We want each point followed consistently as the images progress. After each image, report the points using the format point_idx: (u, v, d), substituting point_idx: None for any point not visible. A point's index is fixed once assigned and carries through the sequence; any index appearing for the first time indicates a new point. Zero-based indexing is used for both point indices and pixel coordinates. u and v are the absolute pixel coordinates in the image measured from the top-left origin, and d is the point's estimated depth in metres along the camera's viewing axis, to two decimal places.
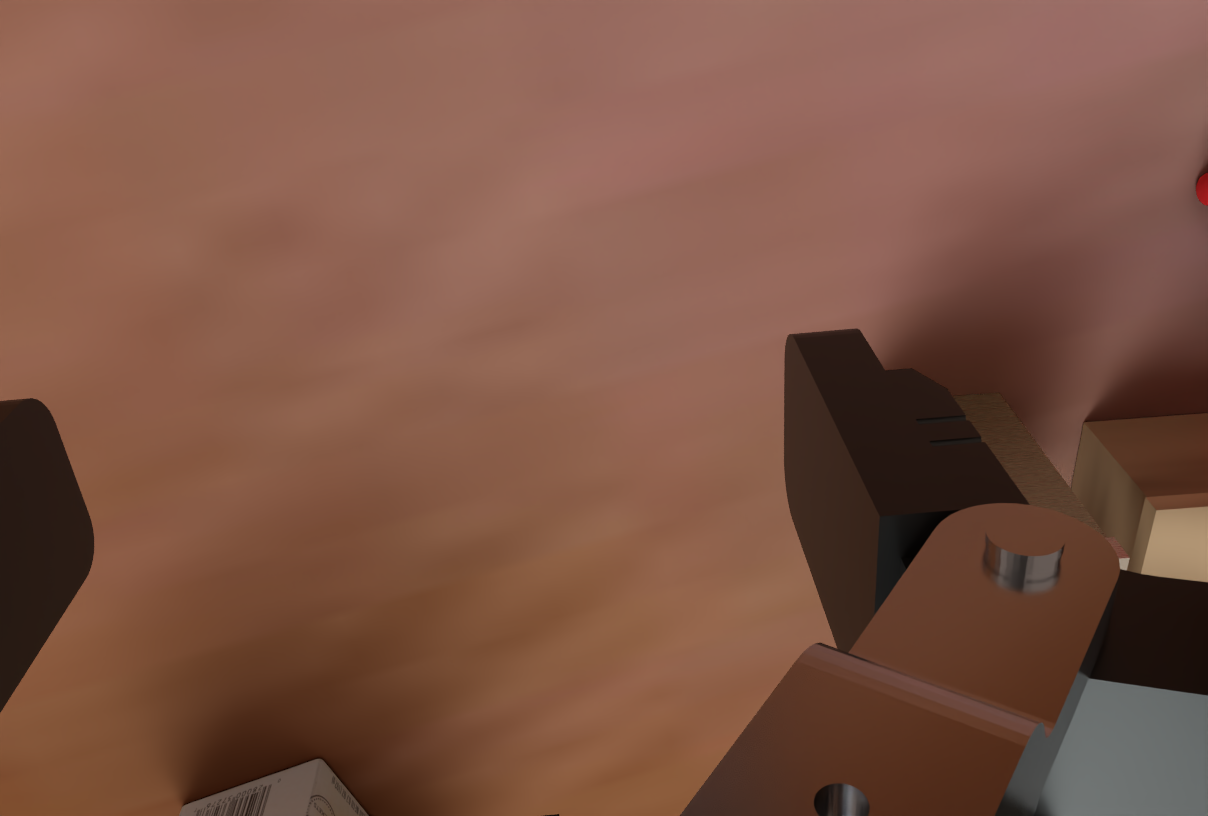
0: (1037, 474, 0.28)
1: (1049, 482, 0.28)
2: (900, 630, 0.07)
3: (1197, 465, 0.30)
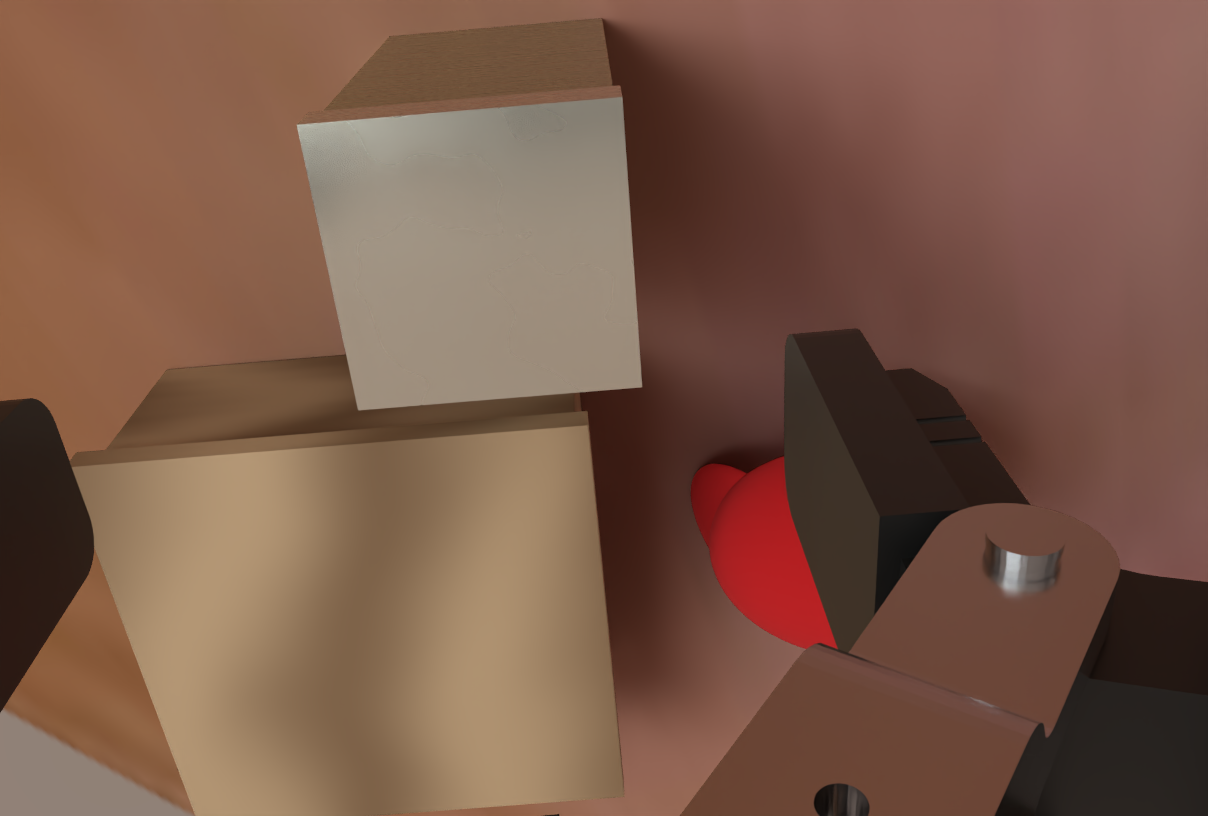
0: None
1: None
2: (901, 630, 0.07)
3: None
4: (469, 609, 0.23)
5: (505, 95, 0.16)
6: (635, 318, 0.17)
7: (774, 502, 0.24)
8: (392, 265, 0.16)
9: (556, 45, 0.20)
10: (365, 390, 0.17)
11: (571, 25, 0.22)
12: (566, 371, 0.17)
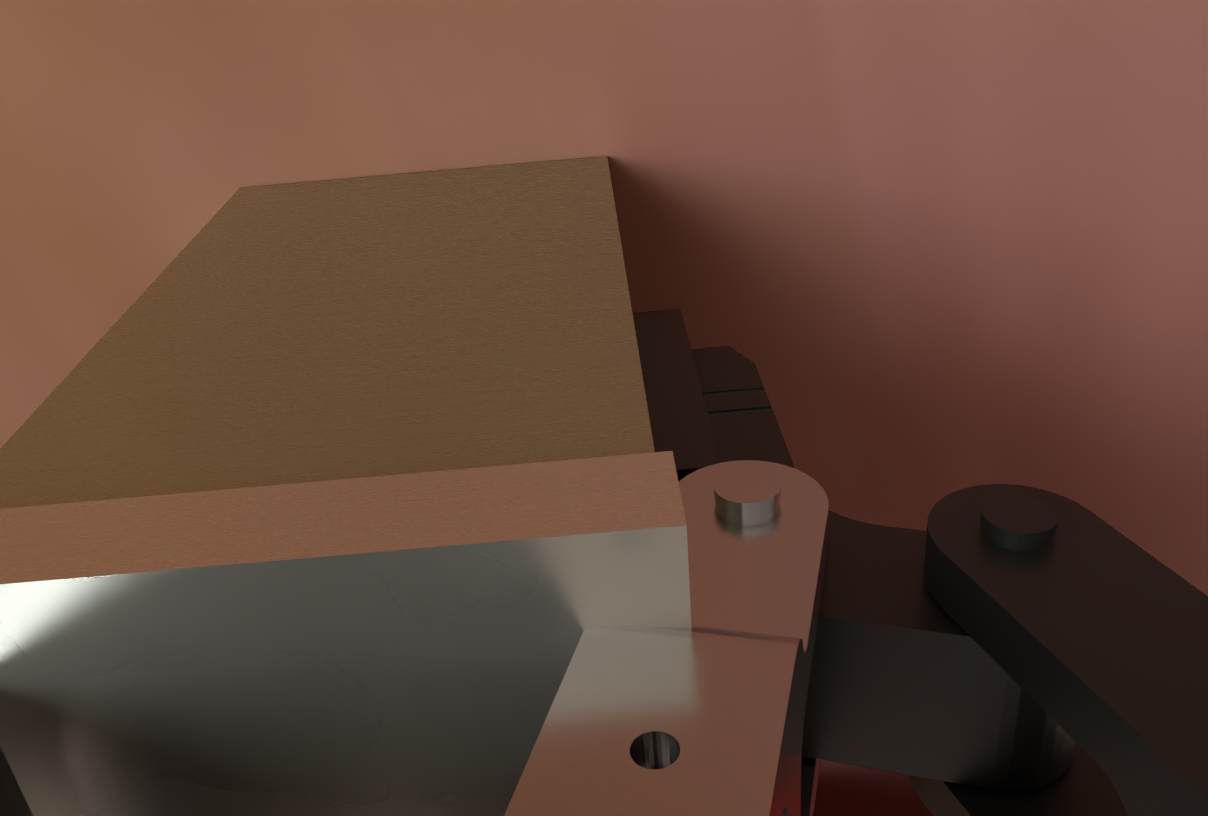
0: None
1: None
2: None
3: None
4: None
5: (389, 478, 0.06)
6: None
7: None
8: None
9: (525, 239, 0.10)
10: None
11: (554, 174, 0.12)
12: None
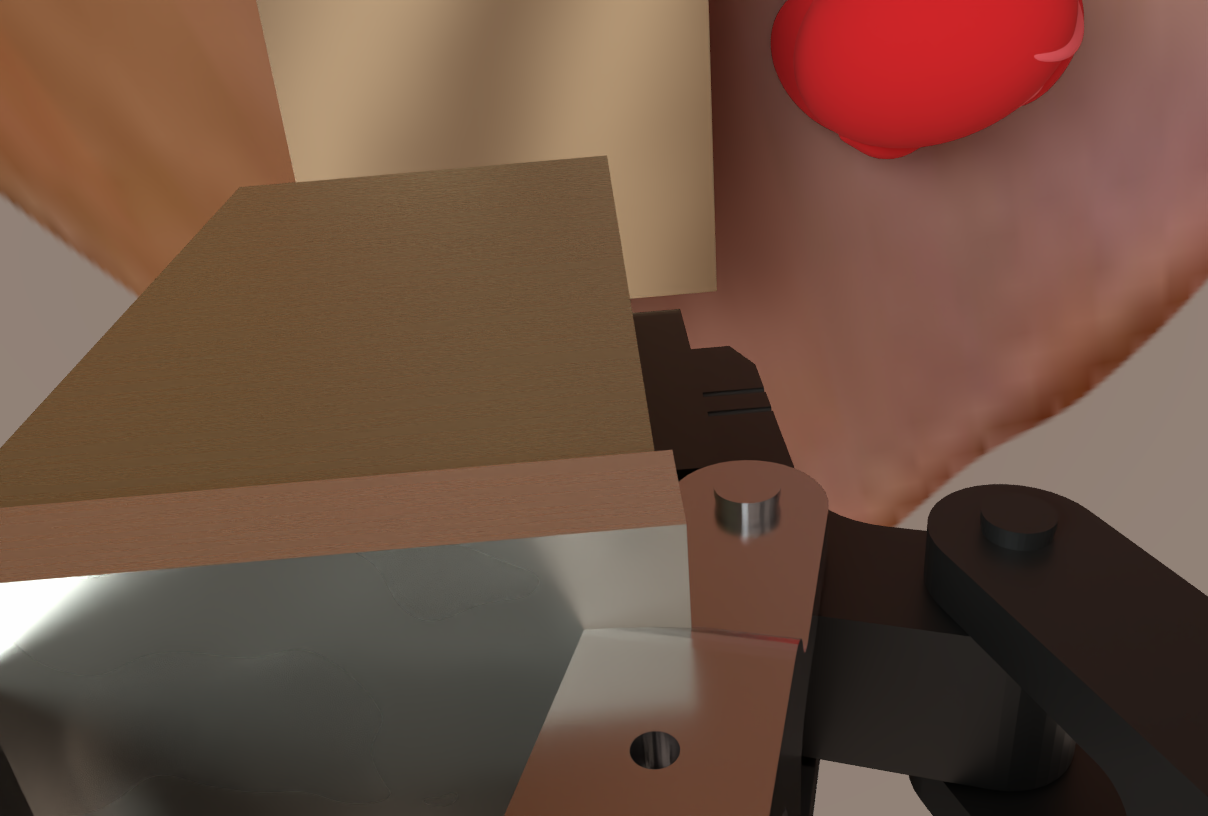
0: None
1: None
2: None
3: None
4: (587, 64, 0.26)
5: (389, 477, 0.06)
6: None
7: None
8: None
9: (525, 238, 0.10)
10: None
11: (554, 173, 0.12)
12: None
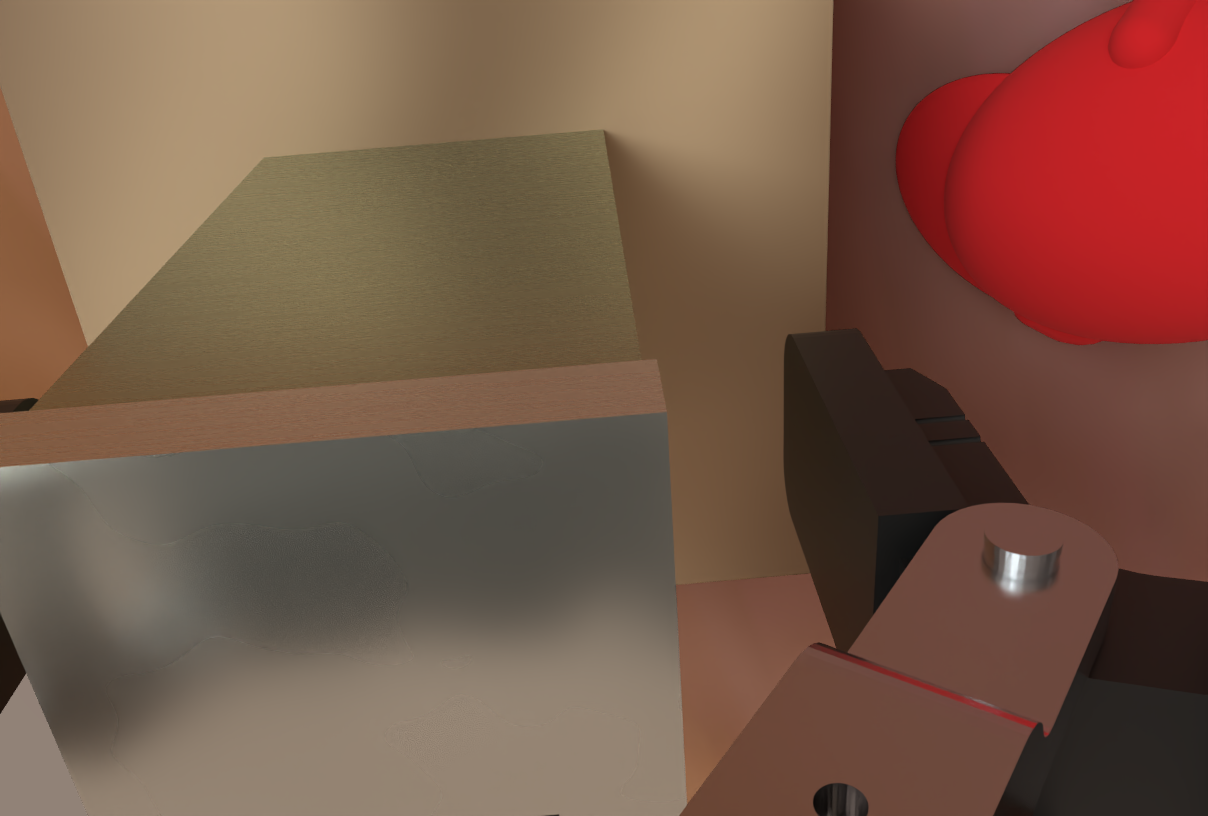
0: None
1: None
2: (900, 630, 0.07)
3: None
4: None
5: (414, 381, 0.07)
6: (682, 791, 0.09)
7: (1088, 71, 0.15)
8: (184, 718, 0.08)
9: (528, 198, 0.12)
10: None
11: (555, 144, 0.14)
12: None
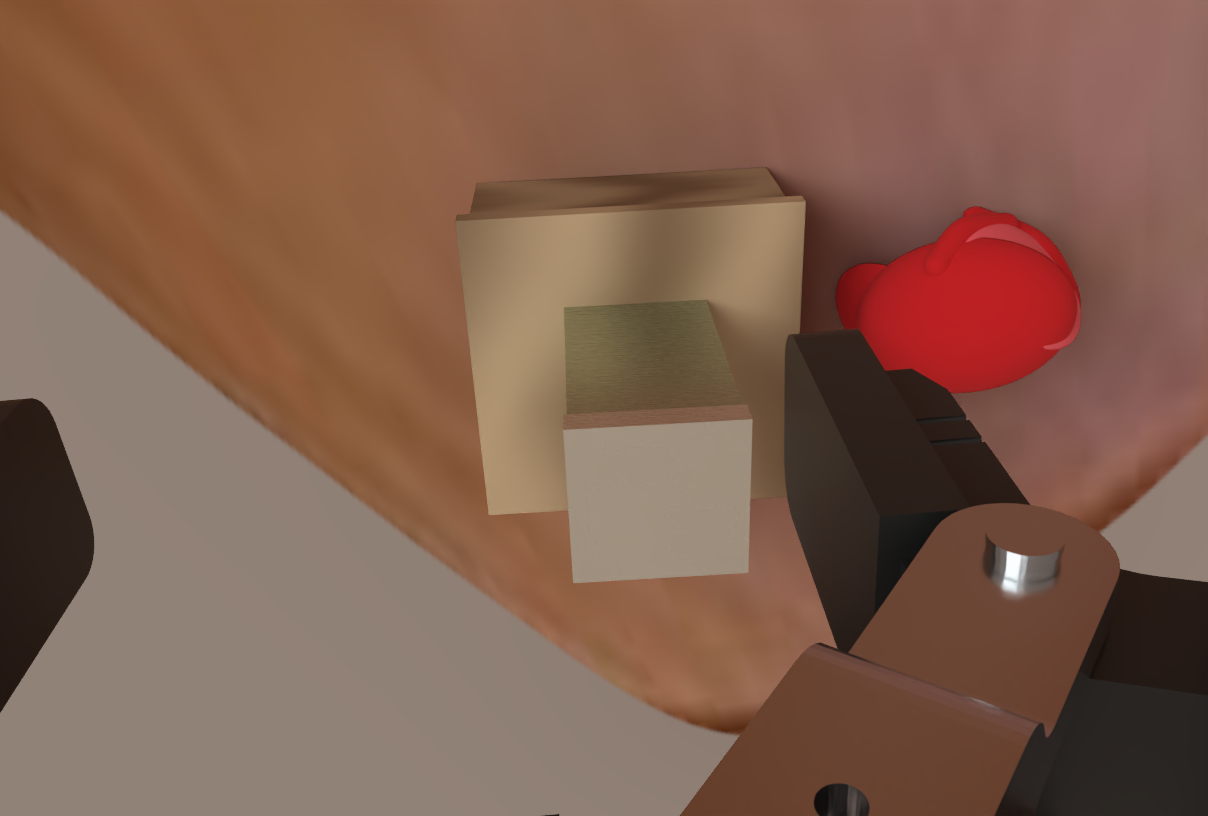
0: None
1: None
2: (901, 630, 0.07)
3: None
4: None
5: (680, 408, 0.27)
6: (747, 534, 0.28)
7: (914, 274, 0.35)
8: (606, 503, 0.27)
9: (687, 338, 0.31)
10: (579, 571, 0.28)
11: (688, 307, 0.33)
12: (702, 562, 0.28)
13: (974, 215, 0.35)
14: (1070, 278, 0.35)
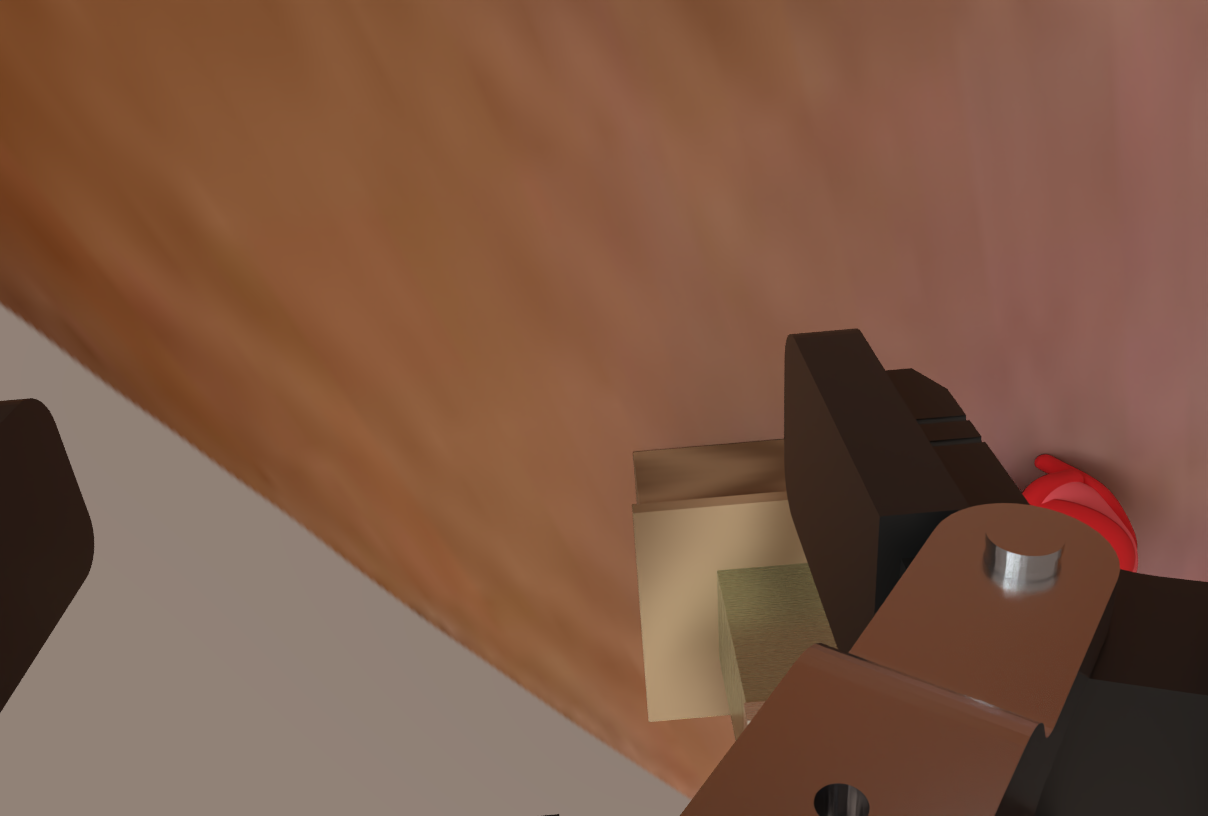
0: None
1: None
2: (901, 630, 0.07)
3: None
4: None
5: None
6: None
7: None
8: None
9: None
10: None
11: None
12: None
13: (1047, 478, 0.43)
14: (1128, 526, 0.43)
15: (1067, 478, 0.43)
